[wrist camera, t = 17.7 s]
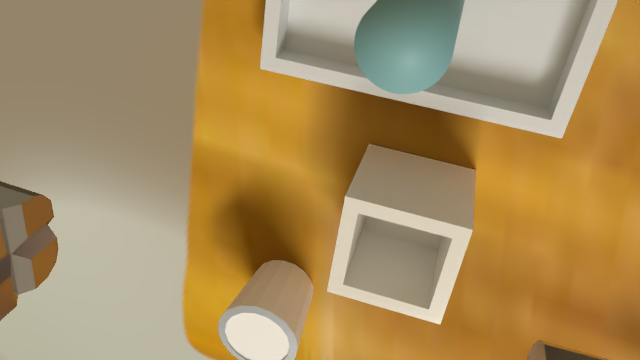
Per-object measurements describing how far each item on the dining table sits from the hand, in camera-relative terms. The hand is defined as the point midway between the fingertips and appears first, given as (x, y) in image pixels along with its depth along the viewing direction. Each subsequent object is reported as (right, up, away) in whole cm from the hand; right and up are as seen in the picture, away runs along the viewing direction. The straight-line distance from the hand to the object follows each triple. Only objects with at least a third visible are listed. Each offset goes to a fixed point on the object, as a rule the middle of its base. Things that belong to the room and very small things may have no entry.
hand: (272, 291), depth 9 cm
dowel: (+8, +14, +25) cm, 30 cm away
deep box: (+8, 0, +34) cm, 35 cm away
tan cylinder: (-2, -8, +41) cm, 42 cm away
